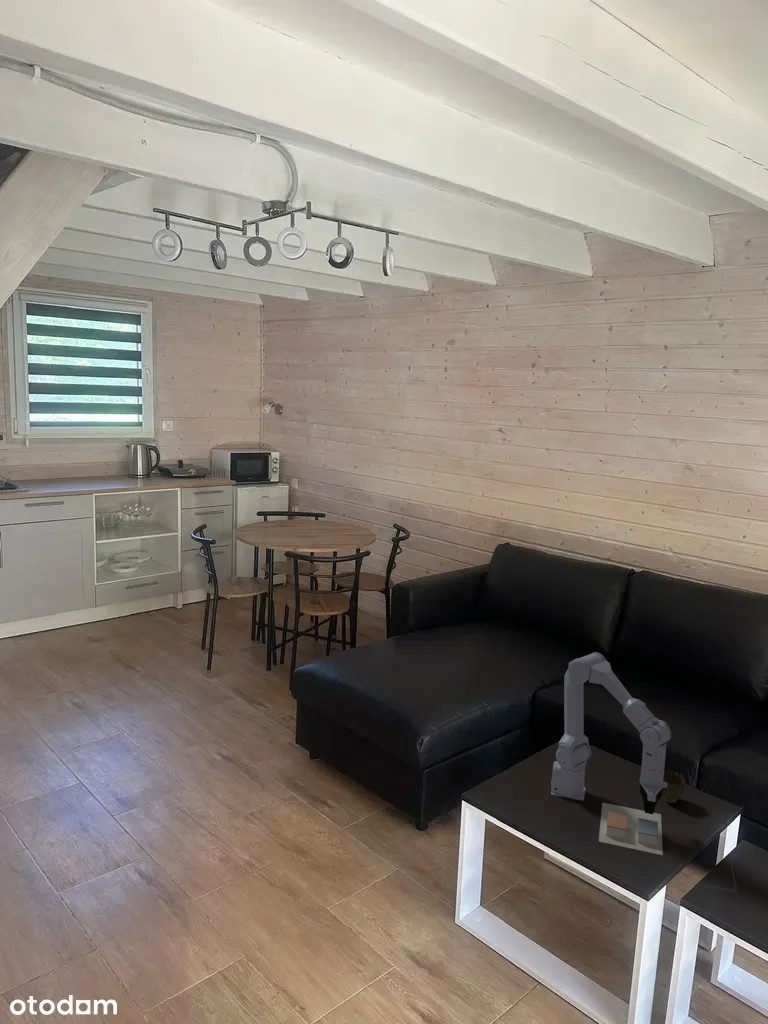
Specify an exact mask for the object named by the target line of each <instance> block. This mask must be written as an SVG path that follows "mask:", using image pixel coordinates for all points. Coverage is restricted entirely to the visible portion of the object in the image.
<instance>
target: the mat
mask: <svg viewBox="0 0 768 1024" xmlns="http://www.w3.org/2000/svg"><path fill="white" fill-rule="evenodd" d="M608 812H613V813H618V814H623V815H627V827H626V840H625V839H620V838H616V837H611V836H606V830H607V818H608ZM600 815H601V816H600V826H599V831H598V832H599V834H598V842H599V843H603V844H609V845H613V846H617V847H623V848H627V849H632V850H637V851H641V852H646V853H649V854H655V855H658V856H659V855H660V856H663V855H664V853H663V834H662V832H663V831H662V829H663V828H662V814H661V813H656V812H654V813H653V814H648V813H645V811H644V810H643V809H642V810H641V809H637V808H632V807H626V806H622V805H617V804H611V803H608V802H602V804H601V814H600ZM638 818H642V819H647V820H652V821H657V822H658V845H657V846H653V845H649V844H644V843H639V842H637V831H638Z"/></svg>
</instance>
